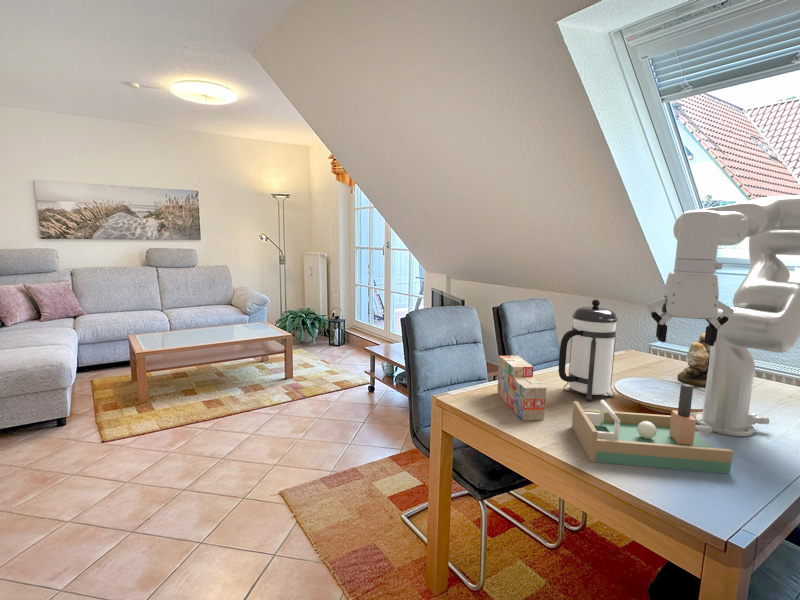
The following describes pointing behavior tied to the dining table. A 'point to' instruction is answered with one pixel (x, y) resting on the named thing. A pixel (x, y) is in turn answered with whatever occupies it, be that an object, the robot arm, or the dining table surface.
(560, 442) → the dining table surface
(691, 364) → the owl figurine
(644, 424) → the ball
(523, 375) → the stack of blocks
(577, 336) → the coffee press
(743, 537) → the dining table surface
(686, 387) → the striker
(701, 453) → the pitch
